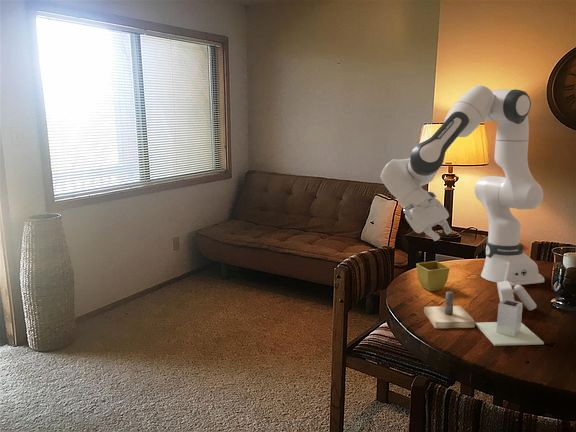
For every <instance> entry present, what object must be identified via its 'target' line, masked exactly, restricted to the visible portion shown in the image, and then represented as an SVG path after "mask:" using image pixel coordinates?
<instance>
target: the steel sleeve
mask: <svg viewBox="0 0 576 432" xmlns="http://www.w3.org/2000/svg"><path fill="white" fill-rule="evenodd" d="M497 306H498V309H497V318H496V322H497V330H496V333H500V334H503V335H507V336H511V337H514V338H515V337H516V336H517V334H518V333H519V332H520V329H521V323H522V317H523V315H522V314H523V306H524V304H523V302H522V301H516V300H515V301H513V300H509V299H503V300H502V301H501V302H500V301H499V303H498V305H497Z"/></svg>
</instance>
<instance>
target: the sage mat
mask: <svg viewBox="0 0 576 432" xmlns="http://www.w3.org/2000/svg"><path fill="white" fill-rule="evenodd" d="M475 326H476V327H477V328H478V329H479V330H480V331H481V333H483V334H484V336H485V337H486V338H487V339H488V340H489V341H490V343H492V344H493V346H495V347H496V346H498V347H499V346H501V347H502V346H530V345H531V346H533V345H535V346H536V345H544V343H545V342H544V341H543V340H542V339H541V338H540V337H539V336H538V335H537V334H535V333H534V332H533V331H531V329H529V328H528V327H527V326H526V325H525V324H524V323H522V322H521V329H520V332H519V333H518V334H517V336H516V337H515V338H514V337H511V336H507V335H503V334H500V333H496V330H497V321H489V322H487V321H486V322H485V321H484V322H475Z"/></svg>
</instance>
